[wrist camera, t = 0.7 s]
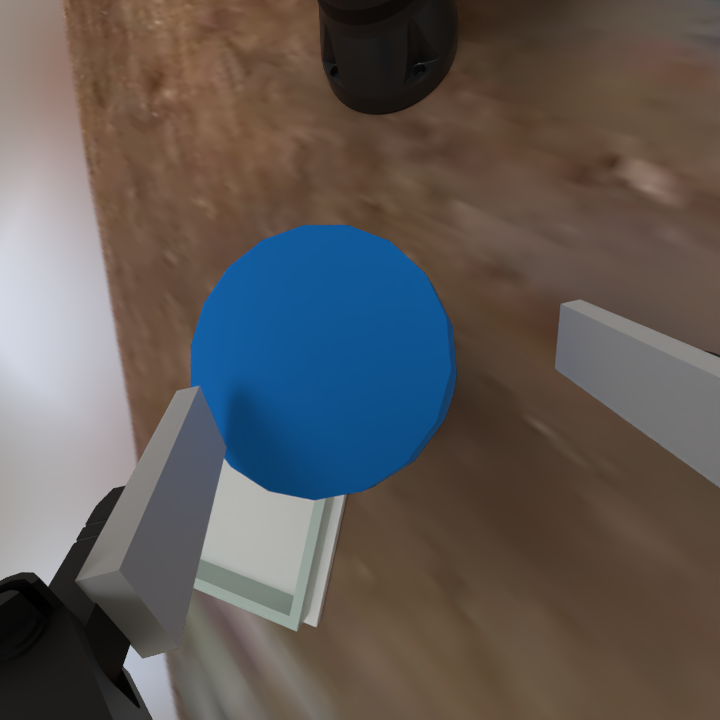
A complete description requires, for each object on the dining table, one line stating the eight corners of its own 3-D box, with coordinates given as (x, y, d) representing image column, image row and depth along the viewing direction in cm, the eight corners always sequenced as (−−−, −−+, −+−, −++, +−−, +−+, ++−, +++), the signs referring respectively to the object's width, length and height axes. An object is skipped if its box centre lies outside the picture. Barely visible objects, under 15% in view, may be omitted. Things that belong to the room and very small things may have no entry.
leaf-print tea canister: (329, 382, 40) (141, 354, 16) (400, 312, 39) (315, 166, 15) (399, 460, 37) (300, 570, 13) (477, 387, 36) (527, 358, 12)
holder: (212, 406, 43) (187, 406, 39) (357, 444, 38) (346, 449, 34) (175, 561, 42) (145, 578, 38) (320, 620, 37) (304, 646, 33)
